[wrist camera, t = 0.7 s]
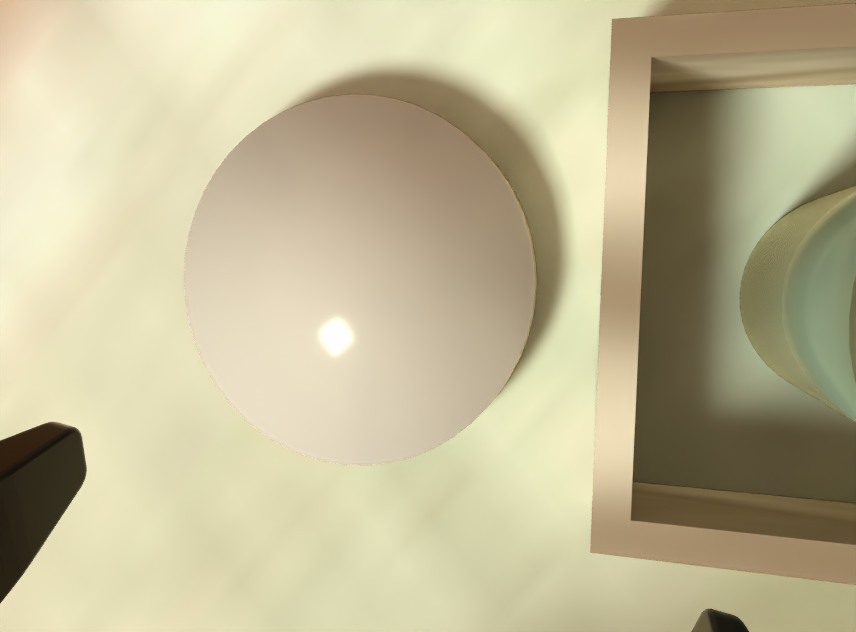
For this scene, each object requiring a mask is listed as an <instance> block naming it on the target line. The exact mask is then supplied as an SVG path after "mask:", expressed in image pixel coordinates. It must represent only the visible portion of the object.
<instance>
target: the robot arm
mask: <svg viewBox="0 0 856 632" xmlns="http://www.w3.org/2000/svg"><path fill="white" fill-rule="evenodd" d="M86 471H87V468H86V461H85V454H84V448H83V441H82V436H81V433H80V431H79V430H78V429H77V428H75V427H72V426H68V425H65V424H61V423H57V422H48V423H45V424H42V425H40V426H37V427H34V428H32V429H29V430H27V431H24V432H21V433H19V434H16V435H14V436H11V437H8V438H6V439H3V440H1V441H0V603H1V602H2V601H3V599H4V598H5V597H6V596H7V594H8V593H9V592H10V591H11V589H12V588H13V587H14V585H15V584H16V583H17V582H18V580H19V579H20V578H21V576H22V575H23V574H24V572H25V571H26V569H27V568H28V567H29V565H30V564H31V562H32V561H33V559H34V558H35V556H36V555H37V553H38V552H39V550H40V549H41V547H42V546H43V544H44V543H45V541H46V540H47V538H48V536H49V535H50V533H51V532H52V530H53V529H54V527H55V526H56V524H57V523H58V521H59V520H60V518H61V517H62V515H63V514H64V512H65V511H66V509H67V508H68V506H69V505H70V503H71V502H72V500H73V498H74V497H75V495H76V494H77V492H78V491H79V489H80V488H81V486H82V484H83V482H84V480H85V477H86ZM692 632H749V631H748V629H747V628H746V626H745V625H744V623H743V622H742V621H741V620H740V619H739V618H738V617H736V616H734V615H731V614H728V613H724V612H721V611H717V610H714V609H706V610H705V611H703V612H702V614H701V615H700V617H699V619H698V621H697V623H696V625H695V627H694V628H693V630H692Z"/></svg>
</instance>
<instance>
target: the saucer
mask: <svg viewBox="0 0 856 632" xmlns="http://www.w3.org/2000/svg"><path fill="white" fill-rule="evenodd" d="M184 289H185V303H186V308H187V314H188V320H189V325H190V328H191V331H192V335H193V338H194V341H195V345H196V347H197V350H198V352H199V354H200V357H201V359H202V361H203V364H204V366H205V368H206V369H207V371H208V373H209V375H210V376H211V378H212V380H213V382H214V383H215V385H216V386H217V388H218V389H219V390H220V392H221V393H222V394H223V396H224V397H225V398H226V400H227V401H228V403H229V404H230V405H231V406H232V407H233V408H234V409H235V410H236V411H237V412H238V413H239V414H240V415H241V416H242V417H243V418H244V419H245V420H246V421H247V422H248V423H249V424H251V425H252V426H253V427H254V428H256V429H257V430H258V431H259V432H260V433H262V434H263V435H265V436H266V437H268V438H270V439H271V440H273V441H274V442H276V443H278V444H279V445H281V446H283V447H285V448H287V449H289V450H292V451H294V452H296V453H298V454H300V455H303V456H307V457H310V458H313V459H316V460H319V461H323V462H329V463H335V464H341V465H359V466H369V465H378V464H387V463H392V462H396V461H400V460H404V459H408V458H412V457H414V456H417V455H419V454H422V453H424V452H427V451H429V450H432V449H434V448H435V447H437V446H439V445H441V444H442V443H444V442H446V441H448V440H449V439H451V438H453V437H454V436H455V435H457V434H458V433H459V432H461V431H462V430H463V429H464V428H466V427H467V426H468V425H470V424H471V423H472V422H473V421H474V420H475V419H476V418H477V417H478V416H479V415H480V414H481V413H482V412H483V411H484V410H485V409H486V408H487V407H488V406H489V405H490V403H491V402H492V401H493V400H494V399H495V398H496V396H497V395H498V393H499V392H500V391H501V389H502V388H503V387H504V385H505V384H506V383H507V381H508V380H509V378H510V376H511V374H512V373H513V371H514V369H515V367H516V365H517V363H518V362H519V360H520V358H521V355H522V353H523V350H524V347H525V345H526V342H527V339H528V337H529V333H530V329H531V325H532V321H533V316H534V312H535V302H536V292H537V274H536V259H535V253H534V247H533V241H532V237H531V233H530V230H529V227H528V224H527V220H526V217H525V214H524V212H523V210H522V208H521V206H520V203H519V201H518V199H517V197H516V195H515V193H514V191H513V189H512V188H511V186H510V185H509V183H508V182H507V180H506V178H505V177H504V175H503V174H502V172H501V171H500V170H499V169H498V167H497V166H496V165H495V164H494V163H493V161H492V160H491V159H490V158H489V157H488V155H487V154H486V153H485V152H484V151H483V150H482V149H481V148H480V147H479V146H478V145H476V144H475V143H474V142H473V141H472V140H471V139H470V138H469V137H468V136H466V135H465V134H464V133H463V132H462V131H461V130H459V129H458V128H456V127H455V126H453V125H452V124H451V123H449V122H448V121H446V120H445V119H443V118H442V117H440V116H438V115H436V114H434V113H432V112H430V111H428V110H426V109H424V108H422V107H419V106H417V105H414V104H410V103H407V102H404V101H401V100H398V99H394V98H388V97H382V96H376V95H359V94H347V95H339V96H330V97H324V98H320V99H317V100H313V101H309V102H305V103H302V104H300V105H298V106H295V107H293V108H290V109H288V110H285V111H283V112H281V113H280V114H278V115H276V116H275V117H273V118H271V119H269V120H268V121H266V122H264V123H263V124H262V125H260V126H259V127H258V128H256V129H255V130H254V131H253V132H251V133H250V134H249V135H247V136H246V137H245V138H244V139H243V140H242V141H241V142H240V143H239V144H238V145H237V146H236V147H235V148H234V149H233V150H232V151H231V152H230V153H229V155H228V156H227V157H226V159H225V160H224V161H223V162H222V164H221V165H220V166H219V168H218V169H217V170H216V172H215V173H214V175H213V177H212V179H211V180H210V182H209V184H208V185H207V187H206V189H205V191H204V193H203V195H202V198H201V200H200V202H199V204H198V207H197V209H196V211H195V215H194V218H193V221H192V225H191V228H190V232H189V236H188V242H187V248H186V253H185V267H184Z"/></svg>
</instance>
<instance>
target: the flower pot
mask: <svg viewBox="0 0 856 632" xmlns="http://www.w3.org/2000/svg"><path fill="white" fill-rule="evenodd" d="M740 309H741V315H742V321H743V324H744V327H745V331H746V333H747V335H748V338H749V340H750V342H751V344H752V346H753V347H754V349H755V350H756V352H757V353H758V355H759V356H760V357H761V359H762V360H763V361H764V362H765V363H766V364H767V366H768V367H770V368H771V369H772V370H773V371H774V372H775V373H776V374H777V375H779V376H780V377H781V378H783V379H784V380H786V381H787V382H789V383H790V384H792V385H794V386H795V387H797V388H799V389H800V390H802V391H804V392H805V393H807V394H809V395H810V396H812V397H814V398H815V399H817V400H819V401H820V402H822V403H824V404H826V405H827V406H829V407H831V408H832V409H834V410H836V411H837V412H839V413H841V414H842V415H844V416H846V417H847V418H849V419H851V420H852V421H854V422H856V186H853V187H850V188H847V189H844V190H841V191H838V192H836V193H833V194H830V195H827V196H824V197H821V198H818V199H815V200H813V201H811V202H808V203H806V204H804V205H802V206H800V207H798V208H796V209H795V210H793V211H791V212H789V213H788V214H787V215H785V216H784V217H783V218H781V219H780V220H779V221H777V222H776V223H775V224H774V225H773V226H772V227H771V228H770V229H769V230H768V231H767V232H766V233H765V234H764V236H763V237H762V238H761V240H760V241H759V242H758V243H757V245H756V247H755V248H754V250H753V252H752V253H751V255H750V257H749V260H748V262H747V264H746V267H745V270H744V274H743V277H742V281H741V289H740Z"/></svg>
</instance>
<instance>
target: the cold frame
mask: <svg viewBox="0 0 856 632" xmlns="http://www.w3.org/2000/svg"><path fill="white" fill-rule="evenodd" d="M841 84H856V3H849V4H834V5H819V6H803V7H788V8H773V9H757V10H742V11H727V12H711V13H696V14H681V15H665V16H650V17H635V18H620V19H612V35H611V60H610V84H609V109H608V133H607V158H606V182H605V207H604V231H603V256H602V280H601V304H600V329H599V353H598V378H597V402H596V427H595V451H594V476H593V500H592V525H591V549H590V552H591V553H599V554H607V555H615V556H623V557H632V558H640V559H648V560H656V561H664V562H673V563H681V564H689V565H697V566H705V567H714V568H722V569H730V570H738V571H746V572H755V573H763V574H771V575H779V576H787V577H796V578H804V579H812V580H820V581H828V582H837V583H845V584H853V585H856V503H846V502H835V501H825V500H815V499H804V498H794V497H783V496H773V495H762V494H752V493H742V492H731V491H721V490H710V489H700V488H689V487H679V486H669V485H658V484H648V483H637V482H632V478H633V456H634V434H635V412H636V389H637V367H638V345H639V323H640V300H641V278H642V256H643V234H644V211H645V189H646V167H647V144H648V122H649V100H650V92H663V91H688V90H714V89H739V88H765V87H790V86H816V85H841Z"/></svg>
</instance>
